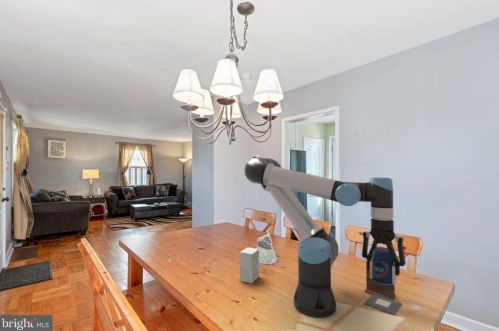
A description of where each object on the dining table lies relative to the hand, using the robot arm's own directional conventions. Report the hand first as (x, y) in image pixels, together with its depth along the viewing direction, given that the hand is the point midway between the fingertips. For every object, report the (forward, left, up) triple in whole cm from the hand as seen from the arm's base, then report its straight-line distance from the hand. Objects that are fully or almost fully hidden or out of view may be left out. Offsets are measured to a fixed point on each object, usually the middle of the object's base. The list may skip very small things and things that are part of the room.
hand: (383, 280), depth 91 cm
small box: (-19, +51, -9) cm, 55 cm away
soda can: (0, 0, -1) cm, 1 cm away
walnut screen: (+7, +3, -9) cm, 12 cm away
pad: (0, 0, -9) cm, 9 cm away
